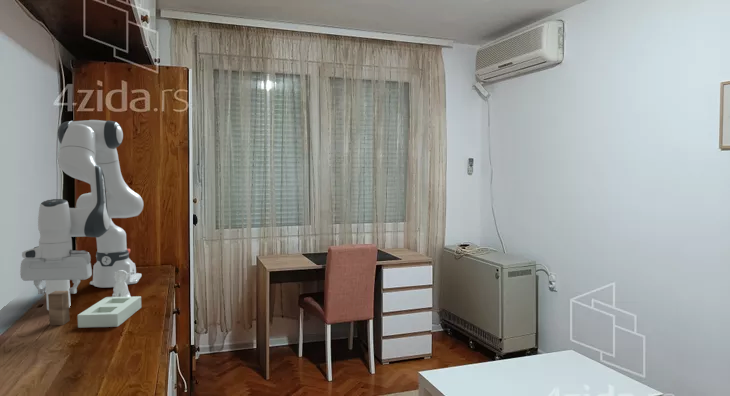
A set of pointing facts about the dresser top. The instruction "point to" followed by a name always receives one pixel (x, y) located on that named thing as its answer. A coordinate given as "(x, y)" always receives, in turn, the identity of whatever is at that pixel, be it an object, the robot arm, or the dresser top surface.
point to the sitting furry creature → (121, 284)
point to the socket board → (109, 312)
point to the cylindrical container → (57, 288)
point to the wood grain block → (58, 307)
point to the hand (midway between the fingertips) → (57, 293)
